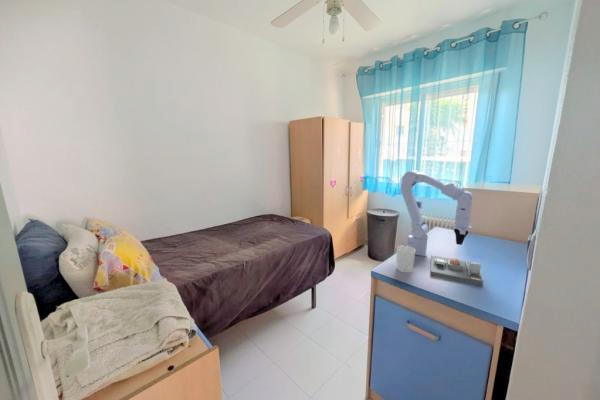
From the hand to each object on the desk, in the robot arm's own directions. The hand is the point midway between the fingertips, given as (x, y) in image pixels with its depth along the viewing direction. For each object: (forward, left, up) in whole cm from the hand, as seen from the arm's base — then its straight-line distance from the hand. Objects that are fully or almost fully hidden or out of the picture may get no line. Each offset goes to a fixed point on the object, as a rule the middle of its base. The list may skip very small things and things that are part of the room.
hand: (458, 244), depth 117 cm
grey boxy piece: (+5, -14, -7) cm, 17 cm away
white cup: (-22, -19, -10) cm, 31 cm away
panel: (-2, -11, -9) cm, 15 cm away
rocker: (-8, -11, -6) cm, 15 cm away
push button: (-2, -11, -7) cm, 13 cm away
